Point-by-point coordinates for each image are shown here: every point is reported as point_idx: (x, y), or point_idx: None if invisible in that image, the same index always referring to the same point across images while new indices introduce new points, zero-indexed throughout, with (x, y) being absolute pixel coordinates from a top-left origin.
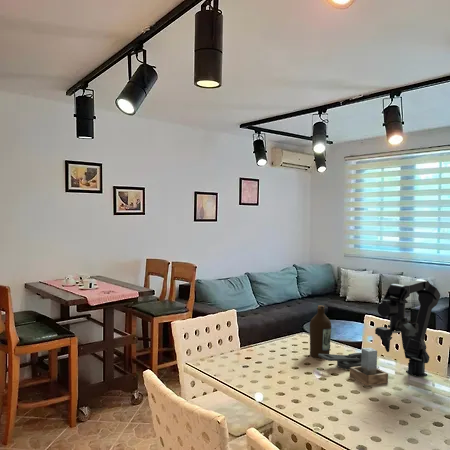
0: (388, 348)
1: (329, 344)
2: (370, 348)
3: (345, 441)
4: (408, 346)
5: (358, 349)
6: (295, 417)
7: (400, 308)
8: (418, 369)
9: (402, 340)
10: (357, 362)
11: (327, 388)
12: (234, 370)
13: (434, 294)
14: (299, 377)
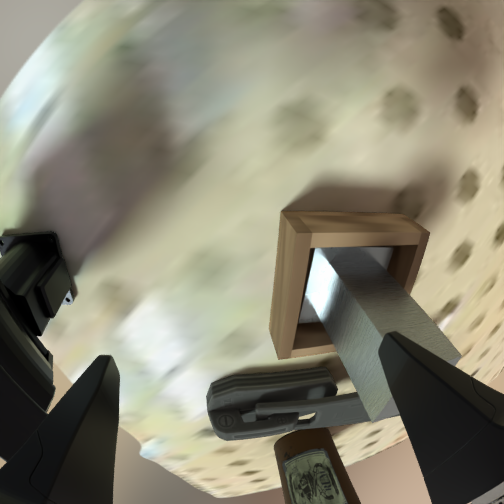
0: (429, 354)
1: (299, 469)
2: (391, 408)
3: None
4: (23, 403)
5: (144, 456)
6: None
7: None
8: (25, 258)
9: (109, 484)
10: (267, 397)
11: (492, 240)
12: (495, 355)
13: None
14: (472, 321)
